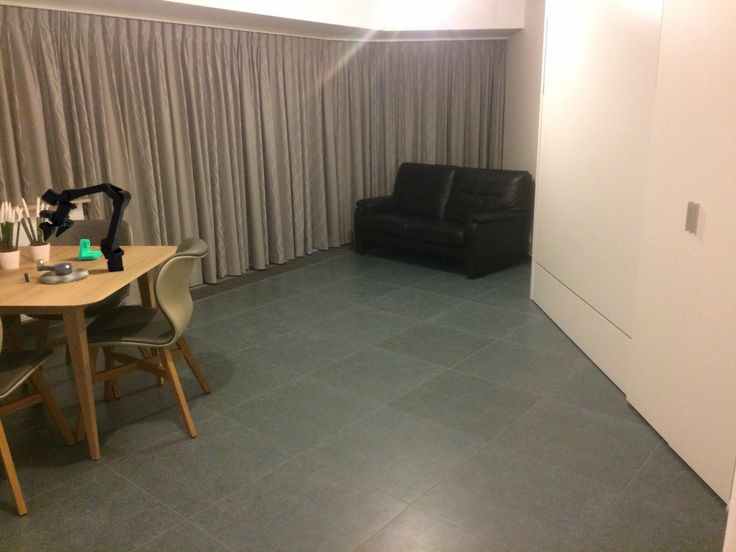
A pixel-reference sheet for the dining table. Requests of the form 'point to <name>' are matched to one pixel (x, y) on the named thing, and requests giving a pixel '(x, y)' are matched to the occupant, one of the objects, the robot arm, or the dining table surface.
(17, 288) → the dining table surface
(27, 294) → the dining table surface
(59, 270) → the knob
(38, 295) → the dining table surface
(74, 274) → the leveling base
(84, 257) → the camera mount
